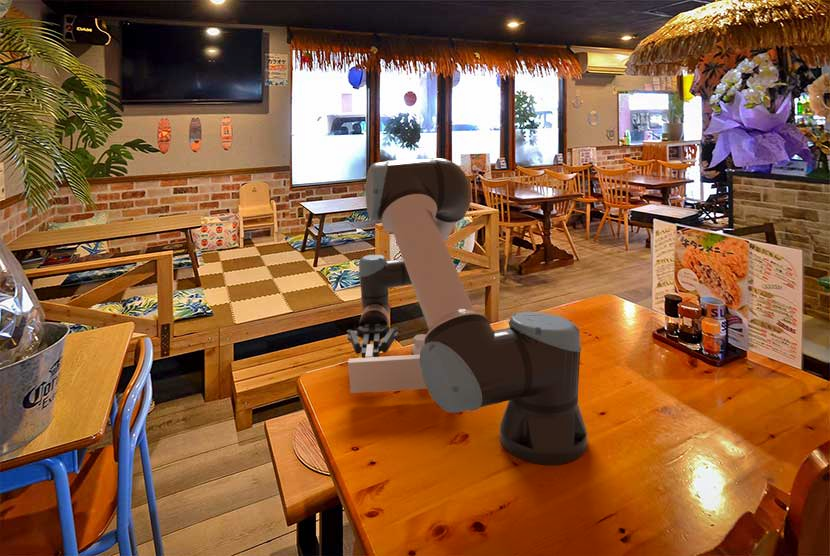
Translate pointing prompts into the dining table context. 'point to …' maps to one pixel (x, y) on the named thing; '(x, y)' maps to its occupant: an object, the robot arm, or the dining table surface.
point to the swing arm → (385, 373)
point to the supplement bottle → (418, 344)
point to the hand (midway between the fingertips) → (369, 361)
